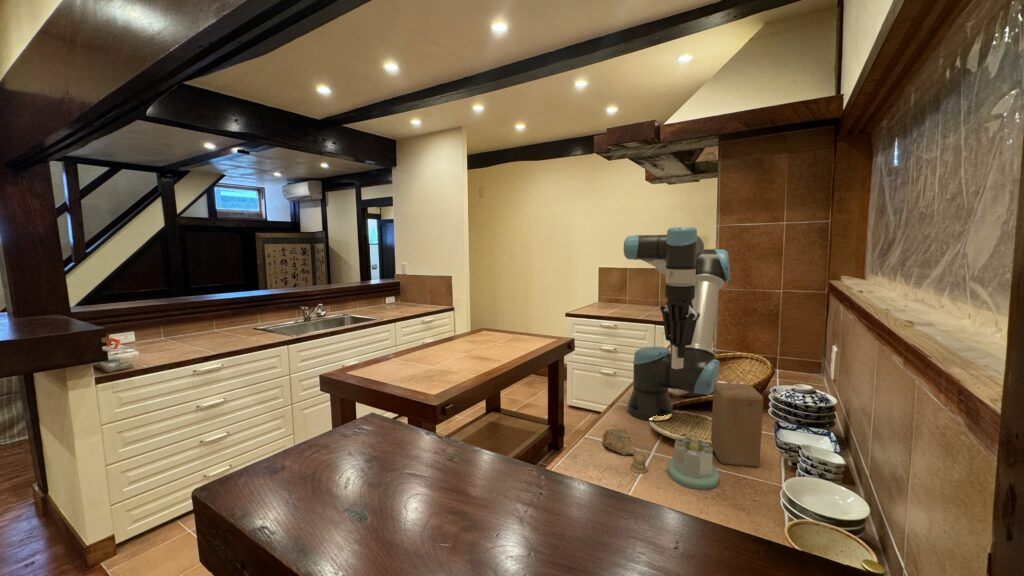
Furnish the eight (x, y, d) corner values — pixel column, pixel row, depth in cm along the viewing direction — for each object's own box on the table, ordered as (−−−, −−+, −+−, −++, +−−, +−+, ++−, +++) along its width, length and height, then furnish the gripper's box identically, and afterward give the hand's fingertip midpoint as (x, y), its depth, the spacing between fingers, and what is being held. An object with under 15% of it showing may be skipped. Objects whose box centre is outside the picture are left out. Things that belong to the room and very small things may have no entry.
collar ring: (667, 462, 105) (667, 440, 105) (694, 456, 108) (695, 435, 107) (690, 480, 97) (691, 457, 96) (719, 474, 99) (720, 451, 99)
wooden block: (760, 468, 105) (765, 396, 103) (720, 465, 107) (723, 394, 105) (746, 449, 115) (750, 383, 113) (709, 446, 117) (712, 381, 115)
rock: (597, 441, 121) (609, 452, 111) (601, 422, 122) (613, 431, 112) (624, 447, 122) (638, 458, 112) (628, 428, 122) (642, 437, 113)
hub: (668, 459, 110) (668, 438, 110) (716, 468, 106) (717, 446, 105) (666, 483, 100) (667, 460, 99) (720, 494, 95) (721, 470, 94)
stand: (631, 462, 109) (632, 449, 108) (648, 466, 107) (648, 452, 107) (629, 471, 105) (630, 457, 104) (647, 475, 103) (647, 460, 103)
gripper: (652, 282, 112) (651, 362, 116) (685, 287, 100) (682, 377, 103) (674, 281, 115) (672, 359, 118) (709, 286, 102) (705, 373, 105)
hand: (677, 367), depth 110 cm, fingers closed
